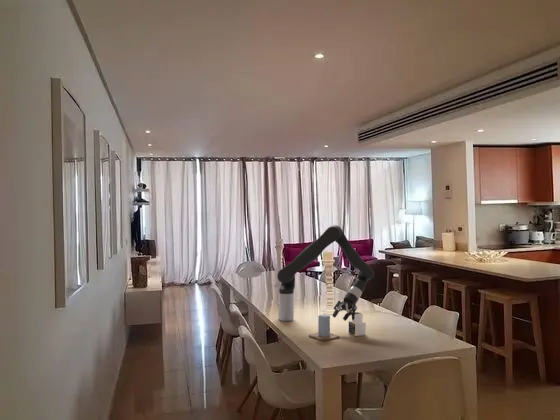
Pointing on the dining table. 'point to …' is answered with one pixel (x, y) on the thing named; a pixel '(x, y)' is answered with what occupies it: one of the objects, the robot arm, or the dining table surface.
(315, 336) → the board
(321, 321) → the block
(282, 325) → the dining table surface
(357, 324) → the medicine bottle
